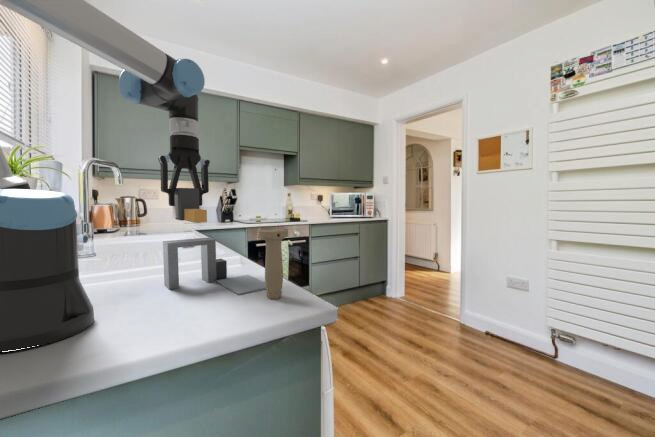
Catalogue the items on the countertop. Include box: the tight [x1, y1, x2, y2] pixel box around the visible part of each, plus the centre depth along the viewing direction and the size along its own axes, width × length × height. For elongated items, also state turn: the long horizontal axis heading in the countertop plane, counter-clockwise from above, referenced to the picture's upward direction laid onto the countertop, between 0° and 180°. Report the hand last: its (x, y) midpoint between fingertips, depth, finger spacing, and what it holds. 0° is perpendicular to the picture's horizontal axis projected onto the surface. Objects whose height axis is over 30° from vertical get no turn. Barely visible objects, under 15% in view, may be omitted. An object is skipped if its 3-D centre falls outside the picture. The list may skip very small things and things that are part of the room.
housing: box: [162, 237, 228, 291], centre depth 79 cm, size 14×5×11 cm, turn 130°
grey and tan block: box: [174, 187, 208, 224], centre depth 84 cm, size 15×5×9 cm, turn 42°
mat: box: [215, 274, 266, 296], centre depth 77 cm, size 9×14×1 cm, turn 40°
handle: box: [258, 228, 289, 300], centre depth 67 cm, size 5×6×15 cm
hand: (186, 217), depth 87 cm, fingers closed on grey and tan block, 5 cm apart
